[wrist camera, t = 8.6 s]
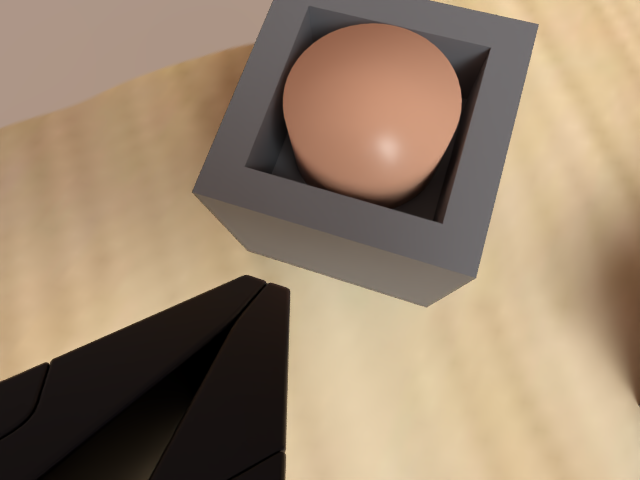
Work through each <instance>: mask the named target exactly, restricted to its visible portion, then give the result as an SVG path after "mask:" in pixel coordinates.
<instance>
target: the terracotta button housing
mask: <svg viewBox="0 0 640 480" xmlns="http://www.w3.org/2000/svg"><path fill="white" fill-rule="evenodd" d="M370 23H376V24H387V25H393V26H398V27H401V28H405V29H407V30H410V31H412V32H415V33H417V34H419V35H420V36H422V37H424V38H426V39H427V40H428V41H430V42H431V43H432V44H434V45H435V46H436V47H437V48H438V49H439V50H440V51H441V52H442V53H443V54H444V55H445V57H446V58H447V59H448V60H449V62H450V64H451V65H452V67H453V69H454V71H455V73H456V75H457V78H458V81H459V85H460V89H461V98H462V103H461V113H460V118H459V122H458V125H457V128H456V130H455V132H454V134H453V137H452V139H451V141H450V143H449V145H448V147H447V149H446V151H445V153H444V155H443V157H442V159H441V161H440V163H439V166H438V168H437V170H436V172H435V173H434V175H433V177H432V179H431V180H430V182H429V183H428V184H427V186H426V187H425V188H424V189H423V190H422V191H421V192H420V193H419V194H418V195H417V196H415V197H414V198H413V199H411V200H410V201H408V202H406V203H404V204H403V205H400V206H398V207H395V208H393V209H389V208H386V207H382V206H379V205H375V204H372V203H369V202H365V201H362V200H358V199H355V198H351V197H348V196H344V195H341V194H337V193H334V192H330V191H327V190H323V189H320V188H317V187H313V186H310V185H308V184H307V183H306V182H305V180H304V179H303V177H302V176H301V173H300V171H299V169H298V167H297V163H296V160H295V156H294V152H293V148H292V145H291V141H290V137H289V133H288V129H287V126H286V122H285V118H284V112H283V93H284V87H285V84H286V81H287V77H288V75H289V73H290V71H291V69H292V67H293V65H294V64H295V62H296V61H297V59H298V58H299V57H300V56H301V55H302V53H303V52H304V51H305V50H306V49H307V48H308V47H310V46H311V45H312V44H313V43H314V42H316V41H317V40H319V39H320V38H322V37H324V36H325V35H327V34H329V33H331V32H333V31H336V30H338V29H341V28H345V27H348V26H352V25H359V24H370ZM538 25H539V24H535V23H530V22H526V21H521V20H517V19H512V18H507V17H503V16H498V15H494V14H489V13H485V12H480V11H475V10H471V9H466V8H462V7H457V6H453V5H448V4H443V3H439V2H434V1H430V0H273V2H272V4H271V7H270V9H269V11H268V14H267V16H266V19H265V21H264V23H263V26H262V28H261V30H260V33H259V35H258V37H257V40H256V42H255V44H254V47H253V49H252V52H251V54H250V56H249V59H248V61H247V63H246V66H245V68H244V70H243V73H242V75H241V78H240V80H239V82H238V85H237V87H236V89H235V92H234V94H233V96H232V99H231V101H230V104H229V106H228V108H227V111H226V113H225V115H224V118H223V120H222V122H221V125H220V127H219V129H218V132H217V134H216V137H215V139H214V141H213V144H212V146H211V148H210V151H209V153H208V155H207V158H206V160H205V163H204V165H203V167H202V170H201V172H200V174H199V177H198V179H197V181H196V184H195V186H194V189H193V191H192V193H193V194H194V195H195V196H196V197H197V198H198V199H199V200H200V201H201V202H202V203H203V204H204V205H205V206H206V207H207V208H208V210H209V211H210V212H211V213H212V214H213V215H214V216H215V217H216V218H217V219H218V220H219V221H220V222H221V223H222V224H223V225H224V226H225V227H226V228H227V229H228V231H229V232H230V233H231V234H232V235H233V236H234V237H235V238H236V239H237V240H238V241H239V242H240V243H241V244H242V245H243V246H244V247H245V248H246V249H247V251H250V252H253V253H256V254H260V255H263V256H266V257H269V258H272V259H275V260H278V261H282V262H285V263H288V264H291V265H294V266H297V267H301V268H304V269H307V270H310V271H313V272H316V273H320V274H323V275H326V276H329V277H332V278H335V279H338V280H342V281H345V282H348V283H351V284H354V285H357V286H361V287H364V288H367V289H370V290H373V291H376V292H380V293H383V294H386V295H389V296H392V297H395V298H398V299H402V300H405V301H408V302H411V303H414V304H417V305H421V306H424V307H428V306H430V305H432V304H433V303H435V302H437V301H438V300H440V299H442V298H443V297H445V296H447V295H448V294H450V293H452V292H453V291H455V290H457V289H458V288H460V287H462V286H463V285H465V284H467V283H468V282H470V281H472V280H473V279H475V278H476V276H477V272H478V268H479V264H480V259H481V255H482V251H483V247H484V243H485V239H486V235H487V231H488V227H489V223H490V219H491V215H492V211H493V207H494V203H495V199H496V195H497V191H498V187H499V183H500V179H501V175H502V171H503V167H504V163H505V159H506V154H507V150H508V146H509V142H510V138H511V134H512V130H513V126H514V122H515V118H516V114H517V110H518V106H519V102H520V98H521V94H522V90H523V86H524V82H525V78H526V74H527V70H528V66H529V62H530V58H531V54H532V50H533V45H534V41H535V37H536V33H537V29H538Z"/></svg>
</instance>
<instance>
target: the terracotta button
mask: <svg viewBox="0 0 640 480" xmlns="http://www.w3.org/2000/svg"><path fill="white" fill-rule="evenodd" d="M461 103H462V98H461V89H460V85H459V81H458V78H457V75H456V73H455V71H454V69H453V67H452V65H451V64H450V62H449V60H448V59H447V58H446V57H445V55H444V54H443V53H442V52H441V51H440V50H439V49H438V48H437V47H436V46H435V45H434V44H432V43H431V42H430V41H428V40H427V39H426V38H424V37H422V36H420V35H419V34H417V33H415V32H412V31H410V30H407V29H405V28H401V27H398V26H393V25H387V24H376V23H370V24H359V25H352V26H348V27H345V28H341V29H338V30H336V31H333V32H331V33H329V34H327V35H325V36H324V37H322V38H320V39H319V40H317V41H316V42H314V43H313V44H312V45H311V46H310V47H308V48H307V49H306V50H305V51H304V52H303V53H302V55H301V56H300V57H299V58H298V59H297V61H296V62H295V64H294V65H293V67H292V69H291V71H290V73H289V75H288V77H287V81H286V84H285V87H284V93H283V112H284V118H285V122H286V126H287V129H288V133H289V137H290V141H291V145H292V148H293V152H294V156H295V160H296V163H297V167H298V169H299V171H300V173H301V176H302V177H303V179H304V180H305V182H306V183H307V184H308V185H310V186H313V187H317V188H320V189H323V190H327V191H330V192H334V193H337V194H341V195H344V196H348V197H351V198H355V199H358V200H362V201H365V202H369V203H372V204H375V205H379V206H382V207H386V208H389V209H393V208H395V207H398V206H400V205H403V204H404V203H406V202H408V201H410V200H411V199H413V198H414V197H415V196H417V195H418V194H419V193H420V192H421V191H422V190H423V189H424V188H425V187H426V186H427V184H428V183H429V182H430V180H431V179H432V177H433V175H434V173H435V172H436V170H437V168H438V166H439V163H440V161H441V159H442V157H443V155H444V153H445V151H446V149H447V147H448V145H449V143H450V141H451V139H452V137H453V134H454V132H455V130H456V128H457V125H458V122H459V118H460V113H461Z"/></svg>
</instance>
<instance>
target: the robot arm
mask: <svg viewBox="0 0 640 480" xmlns="http://www.w3.org/2000/svg"><path fill="white" fill-rule="evenodd" d="M289 319H290V290H289V289H288V288H286V287H283V286H280V285H277V284H274V283H268V284H267V283H266V281H264V280H261V279H258V278H255V277H252V276H249V275H244V276H241V277H239V278H237V279H234V280H232V281H230V282H227V283H225V284H223V285H221V286H218V287H216V288H214V289H211V290H209V291H207V292H205V293H202V294H200V295H198V296H196V297H193V298H191V299H189V300H186V301H184V302H182V303H180V304H177V305H175V306H173V307H170V308H168V309H166V310H164V311H161V312H159V313H157V314H155V315H152V316H150V317H148V318H145V319H143V320H141V321H139V322H136V323H134V324H132V325H129V326H127V327H125V328H123V329H120V330H118V331H116V332H114V333H111V334H109V335H107V336H104V337H102V338H100V339H98V340H95V341H93V342H91V343H88V344H86V345H84V346H82V347H79V348H77V349H75V350H73V351H70V352H68V353H66V354H63V355H61V356H59V357H57V358H54V359H52V361H51V362H50V364H49V363H47V362H45V363H42V364H40V365H38V366H36V367H33V368H31V369H29V370H27V371H24V372H22V373H20V374H17V375H15V376H13V377H10V378H8V379H5V380H3V381H1V382H0V480H285V473H286V454H285V451H286V427H287V391H288V355H289Z"/></svg>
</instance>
